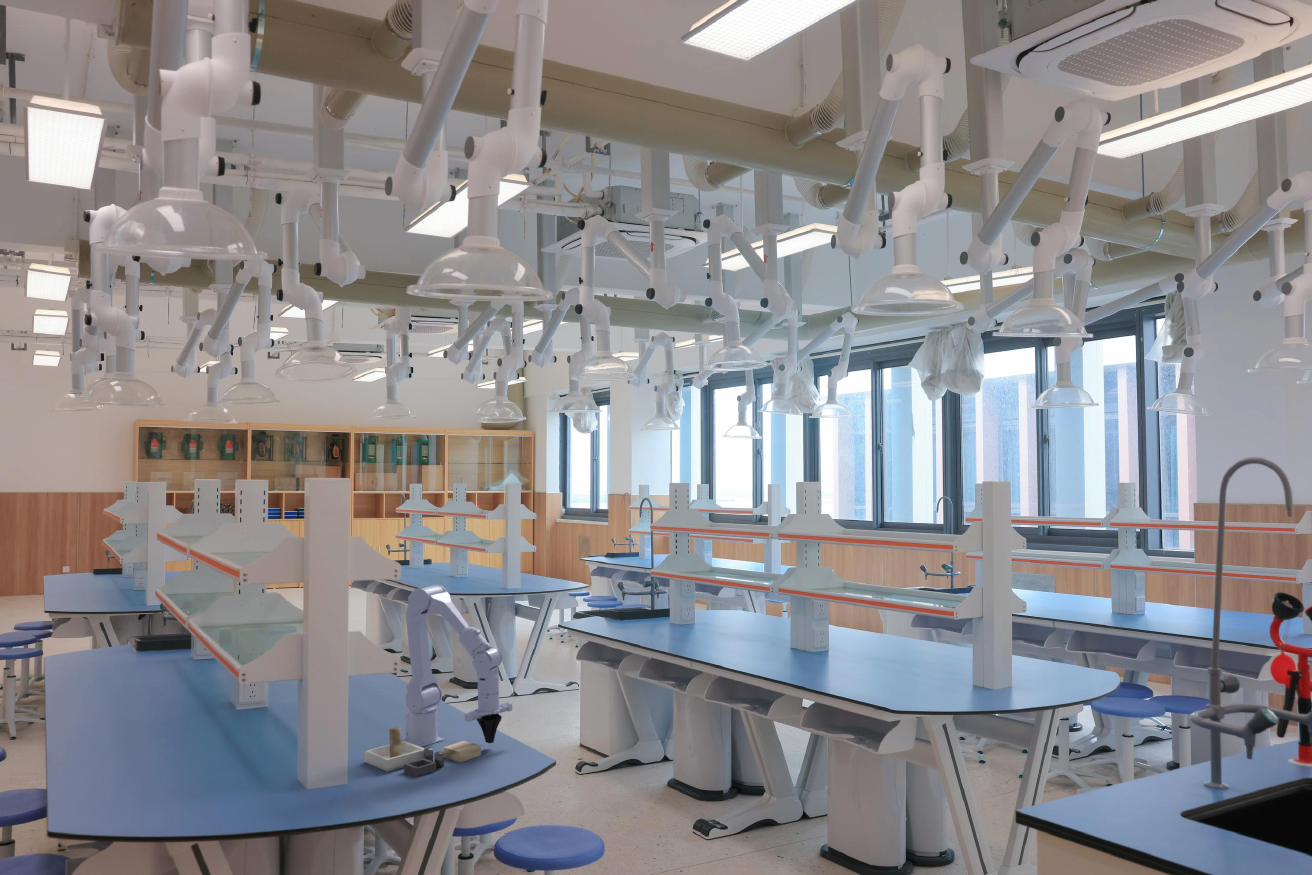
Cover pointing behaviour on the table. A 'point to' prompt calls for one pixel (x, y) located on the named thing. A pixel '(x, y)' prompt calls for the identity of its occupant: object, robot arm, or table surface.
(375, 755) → the tray
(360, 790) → the table surface
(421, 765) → the dowel collar
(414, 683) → the robot arm
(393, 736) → the dowel
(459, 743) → the maple block
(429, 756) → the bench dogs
